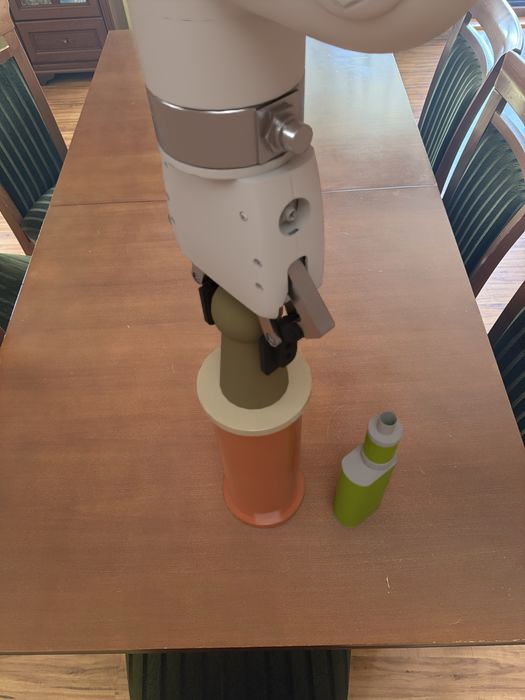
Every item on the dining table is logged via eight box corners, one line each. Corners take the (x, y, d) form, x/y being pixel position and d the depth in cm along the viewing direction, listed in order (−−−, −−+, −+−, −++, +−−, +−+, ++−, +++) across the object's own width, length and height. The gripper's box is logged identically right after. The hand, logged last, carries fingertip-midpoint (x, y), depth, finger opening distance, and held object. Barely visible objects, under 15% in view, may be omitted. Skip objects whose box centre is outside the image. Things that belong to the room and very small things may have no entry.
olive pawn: (271, 419, 42) (266, 335, 33) (206, 394, 43) (186, 307, 35) (299, 364, 45) (302, 274, 36) (238, 343, 47) (227, 252, 38)
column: (314, 518, 61) (326, 416, 42) (231, 537, 60) (205, 442, 41) (293, 443, 67) (295, 325, 48) (218, 460, 66) (189, 346, 47)
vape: (385, 502, 61) (419, 420, 46) (348, 533, 59) (371, 458, 43) (363, 479, 63) (389, 392, 47) (327, 508, 61) (341, 428, 45)
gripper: (417, 147, 23) (367, 376, 37) (184, 36, 31) (217, 260, 45) (296, 224, 20) (292, 440, 34) (74, 80, 28) (147, 304, 42)
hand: (249, 336), depth 39 cm, fingers open, 5 cm apart
